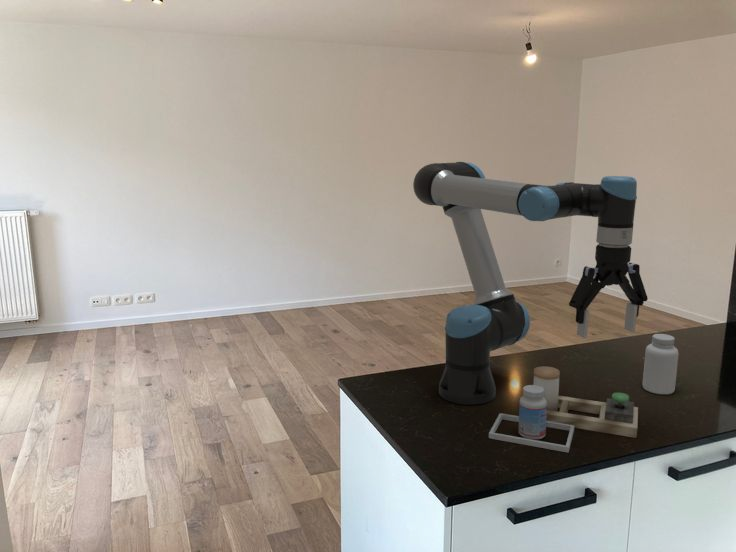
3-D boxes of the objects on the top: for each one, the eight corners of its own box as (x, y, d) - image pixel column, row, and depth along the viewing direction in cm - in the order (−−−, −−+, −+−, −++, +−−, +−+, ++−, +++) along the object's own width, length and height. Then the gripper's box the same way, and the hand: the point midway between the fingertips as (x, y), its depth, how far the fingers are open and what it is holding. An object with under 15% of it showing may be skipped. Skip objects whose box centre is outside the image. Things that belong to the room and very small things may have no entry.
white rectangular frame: (488, 438, 135) (488, 433, 135) (499, 417, 145) (499, 413, 145) (568, 452, 128) (568, 447, 128) (574, 430, 138) (574, 425, 138)
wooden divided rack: (520, 418, 144) (520, 401, 143) (528, 399, 155) (529, 384, 154) (636, 438, 134) (638, 420, 133) (637, 416, 144) (638, 399, 143)
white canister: (530, 415, 146) (531, 373, 144) (534, 405, 152) (536, 365, 149) (555, 419, 144) (557, 376, 141) (559, 409, 149) (561, 368, 147)
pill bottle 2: (677, 396, 155) (682, 342, 152) (643, 393, 158) (648, 339, 155) (672, 385, 162) (677, 333, 159) (640, 382, 165) (644, 330, 162)
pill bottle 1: (546, 441, 133) (548, 394, 131) (518, 439, 134) (520, 393, 132) (544, 429, 139) (546, 384, 137) (517, 427, 140) (519, 382, 138)
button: (611, 408, 139) (612, 397, 138) (612, 402, 142) (612, 391, 142) (627, 410, 137) (628, 399, 137) (628, 404, 141) (629, 393, 140)
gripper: (578, 251, 128) (571, 344, 133) (670, 244, 135) (660, 332, 140) (557, 245, 135) (551, 333, 140) (645, 239, 142) (637, 323, 147)
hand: (606, 333), depth 140 cm, fingers open, 13 cm apart
